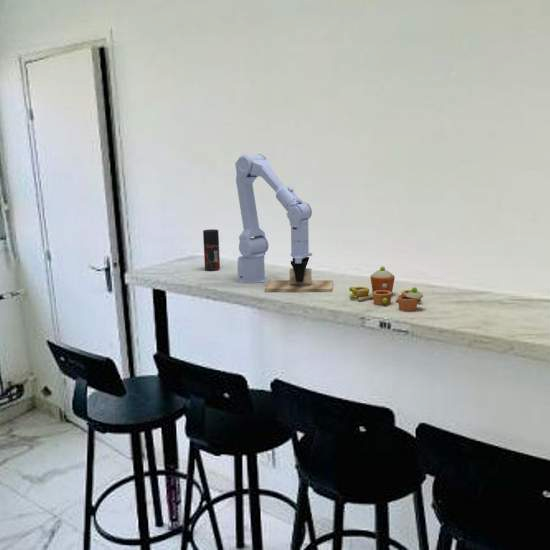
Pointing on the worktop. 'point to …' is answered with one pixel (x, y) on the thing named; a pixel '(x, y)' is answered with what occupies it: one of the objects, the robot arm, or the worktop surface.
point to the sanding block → (306, 281)
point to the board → (285, 286)
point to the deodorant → (211, 249)
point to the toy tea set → (386, 292)
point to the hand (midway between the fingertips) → (300, 280)
